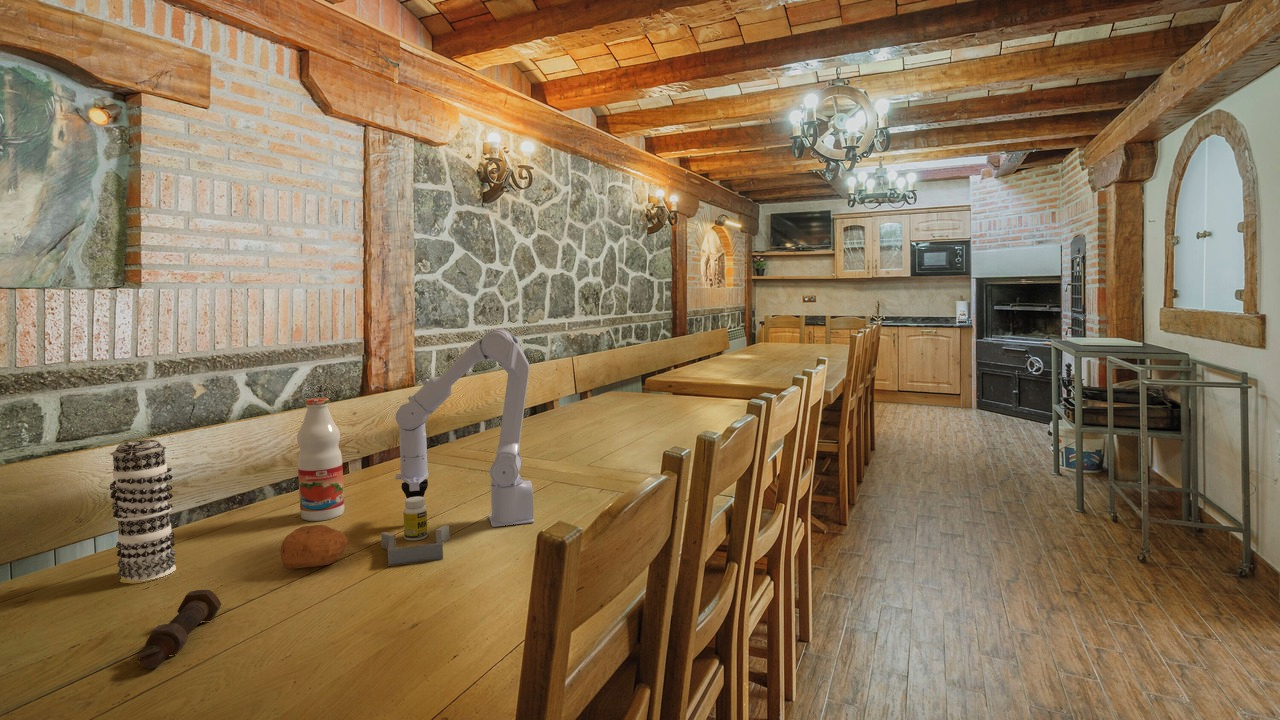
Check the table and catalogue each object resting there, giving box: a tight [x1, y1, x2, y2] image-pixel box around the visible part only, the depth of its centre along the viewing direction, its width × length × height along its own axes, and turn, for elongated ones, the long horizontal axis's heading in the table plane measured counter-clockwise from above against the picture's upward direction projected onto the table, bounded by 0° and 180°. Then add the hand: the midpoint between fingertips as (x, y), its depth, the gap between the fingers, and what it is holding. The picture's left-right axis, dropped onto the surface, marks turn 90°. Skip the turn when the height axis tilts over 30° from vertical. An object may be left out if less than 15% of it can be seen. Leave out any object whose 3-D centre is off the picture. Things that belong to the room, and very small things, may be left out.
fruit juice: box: [296, 397, 345, 522], centre depth 150 cm, size 9×9×28 cm
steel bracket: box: [380, 524, 450, 567], centre depth 128 cm, size 13×11×3 cm
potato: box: [279, 524, 349, 569], centre depth 122 cm, size 9×11×8 cm
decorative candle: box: [109, 439, 177, 581], centre depth 117 cm, size 9×9×25 cm
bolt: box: [137, 589, 222, 669], centre depth 94 cm, size 6×5×15 cm
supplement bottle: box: [403, 496, 428, 541], centre depth 136 cm, size 5×5×8 cm
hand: (415, 513), depth 145 cm, fingers closed
